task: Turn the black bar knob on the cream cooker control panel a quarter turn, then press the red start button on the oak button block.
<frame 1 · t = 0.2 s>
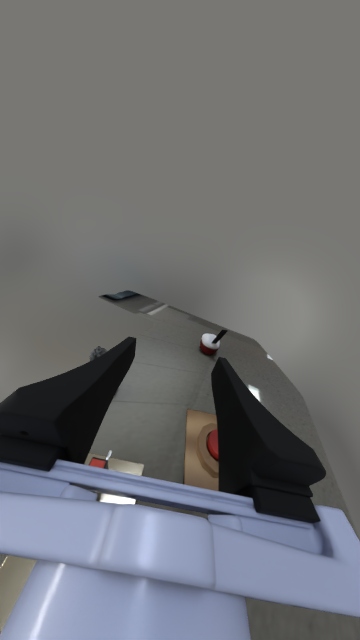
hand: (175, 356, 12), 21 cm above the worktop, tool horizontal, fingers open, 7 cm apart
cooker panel: (78, 540, 15), on the worktop
salt shaker: (102, 392, 29), on the worktop
cocoa: (206, 352, 48), on the worktop
temp knob: (87, 497, 15), point 5 cm above the worktop, hinge at 0.0°
start button: (219, 444, 23), point 3 cm above the worktop, slide at 0.1 cm
button block: (213, 452, 24), on the worktop
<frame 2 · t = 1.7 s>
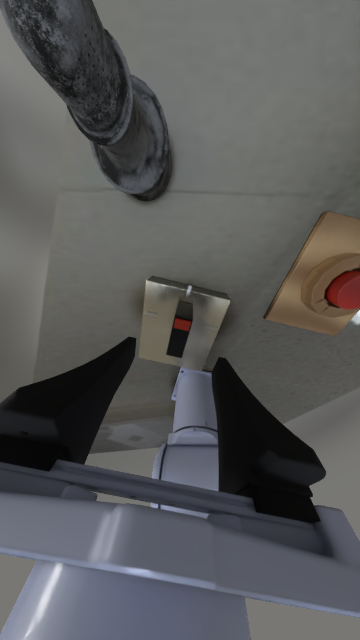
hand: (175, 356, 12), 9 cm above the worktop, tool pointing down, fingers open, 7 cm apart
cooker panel: (179, 324, 21), on the worktop
salt shaker: (144, 166, 14), on the worktop
temp knob: (180, 329, 16), point 5 cm above the worktop, hinge at 0.0°
start button: (351, 290, 14), point 3 cm above the worktop, slide at 0.1 cm
button block: (327, 283, 17), on the worktop
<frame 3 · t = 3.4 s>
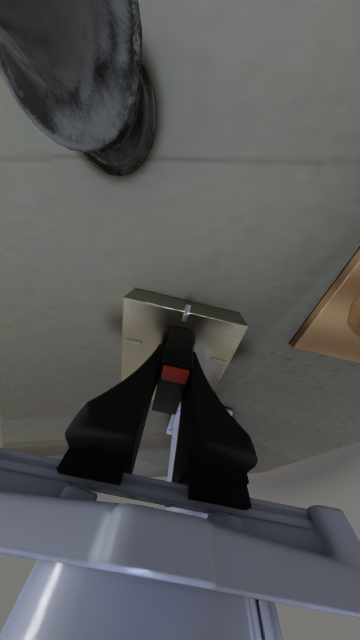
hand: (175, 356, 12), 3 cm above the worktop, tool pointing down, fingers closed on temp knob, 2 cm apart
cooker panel: (175, 349, 16), on the worktop
salt shaker: (112, 116, 8), on the worktop
temp knob: (173, 369, 11), point 5 cm above the worktop, hinge at -0.1°, touching gripper
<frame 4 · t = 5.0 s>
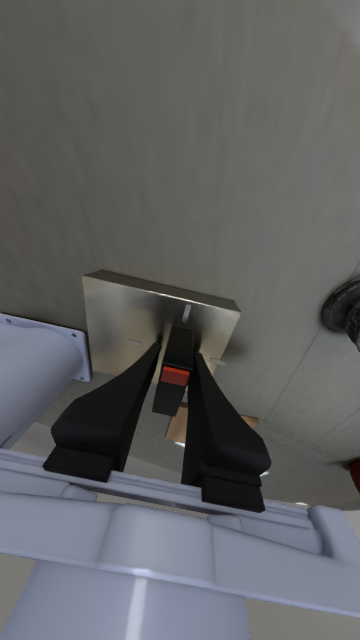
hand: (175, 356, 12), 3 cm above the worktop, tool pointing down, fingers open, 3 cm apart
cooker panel: (160, 331, 15), on the worktop
salt shaker: (355, 305, 12), on the worktop
cocoa: (359, 461, 24), on the worktop
temp knob: (173, 370, 11), point 5 cm above the worktop, hinge at 89.9°
button block: (207, 427, 23), on the worktop
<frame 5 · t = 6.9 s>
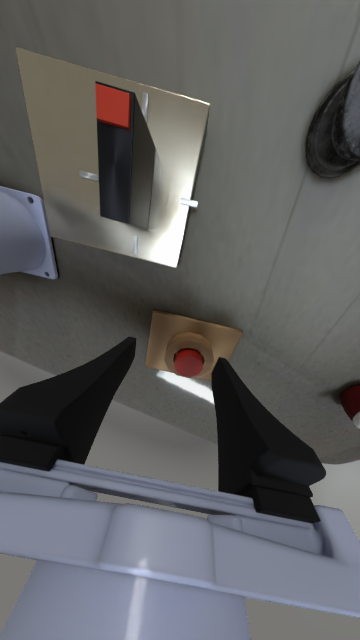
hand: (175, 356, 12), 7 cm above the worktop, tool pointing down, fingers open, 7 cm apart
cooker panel: (127, 193, 13), on the worktop
salt shaker: (344, 130, 11), on the worktop
cocoa: (351, 390, 23), on the worktop
temp knob: (128, 178, 9), point 5 cm above the worktop, hinge at 89.9°
start button: (188, 362, 19), point 3 cm above the worktop, slide at 0.1 cm
button block: (189, 348, 21), on the worktop
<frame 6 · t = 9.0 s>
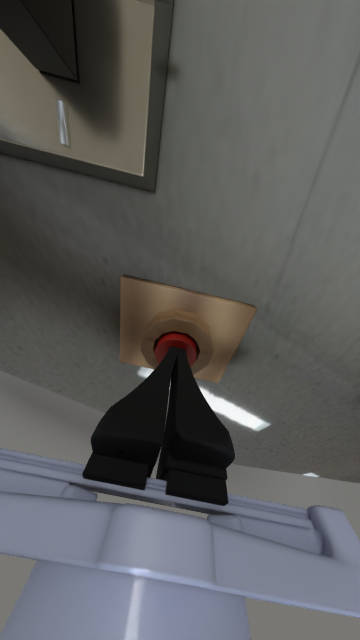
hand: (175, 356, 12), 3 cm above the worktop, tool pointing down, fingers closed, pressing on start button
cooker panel: (50, 35, 7), on the worktop
start button: (176, 350, 13), point 2 cm above the worktop, slide at -0.4 cm, touching gripper
button block: (178, 335, 15), on the worktop
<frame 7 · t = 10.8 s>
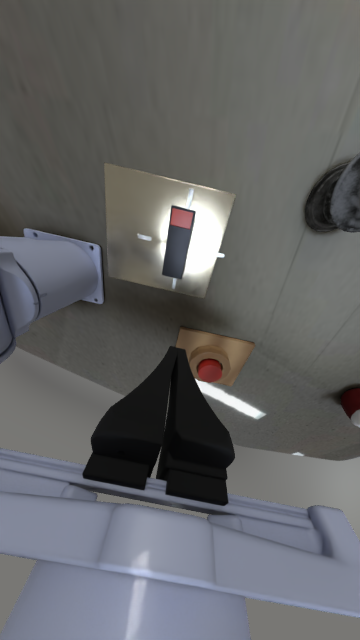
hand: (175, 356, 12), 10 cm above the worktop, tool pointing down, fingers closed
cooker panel: (166, 242, 17), on the worktop
salt shaker: (333, 200, 14), on the worktop
cocoa: (349, 392, 26), on the worktop
temp knob: (179, 246, 13), point 5 cm above the worktop, hinge at 89.9°
start button: (209, 370, 22), point 3 cm above the worktop, slide at 0.1 cm
button block: (208, 357, 25), on the worktop
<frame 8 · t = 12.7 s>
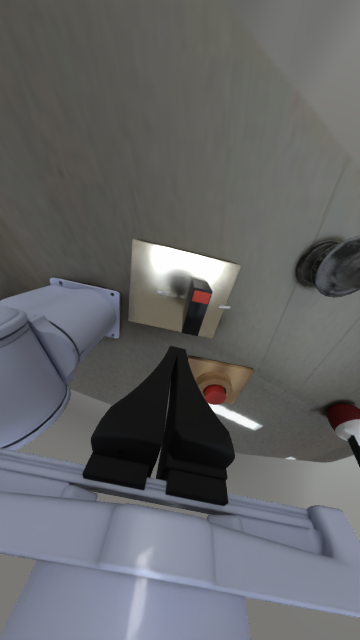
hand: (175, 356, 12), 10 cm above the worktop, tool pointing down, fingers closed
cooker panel: (179, 290, 20), on the worktop
salt shaker: (318, 264, 17), on the worktop
cocoa: (334, 406, 30), on the worktop
temp knob: (195, 306, 16), point 5 cm above the worktop, hinge at 89.9°
start button: (214, 394, 25), point 3 cm above the worktop, slide at 0.1 cm
button block: (212, 380, 28), on the worktop
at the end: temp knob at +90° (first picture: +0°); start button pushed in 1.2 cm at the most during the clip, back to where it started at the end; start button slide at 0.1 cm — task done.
